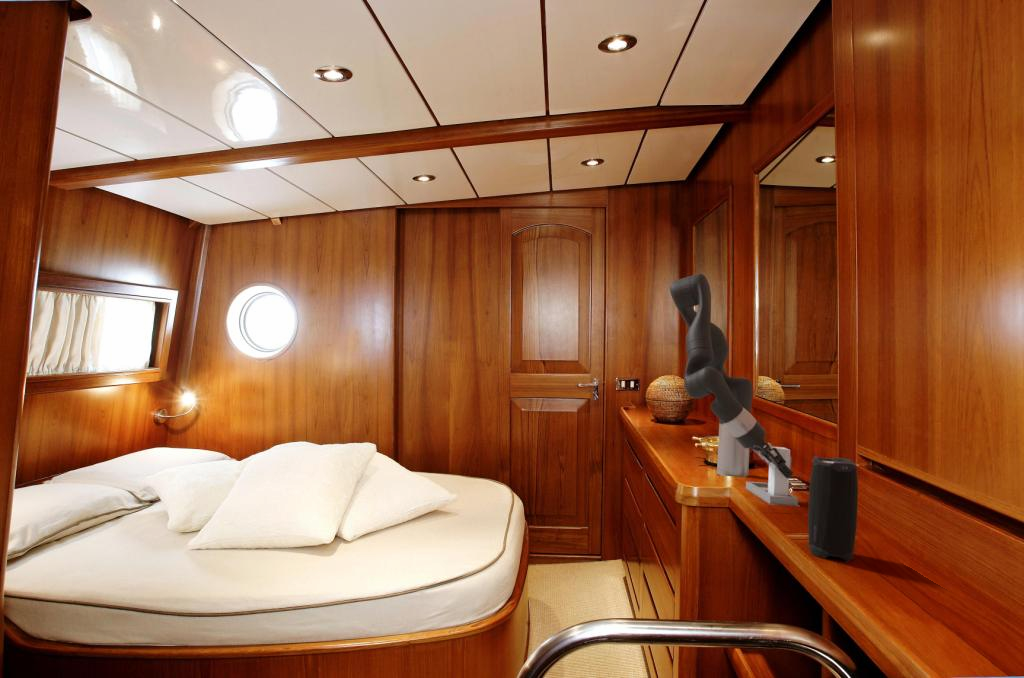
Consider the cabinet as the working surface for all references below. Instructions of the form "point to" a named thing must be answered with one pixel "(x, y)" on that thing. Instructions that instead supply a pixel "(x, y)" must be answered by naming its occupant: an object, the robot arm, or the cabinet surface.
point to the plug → (779, 475)
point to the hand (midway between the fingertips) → (786, 473)
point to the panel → (762, 492)
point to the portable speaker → (833, 507)
